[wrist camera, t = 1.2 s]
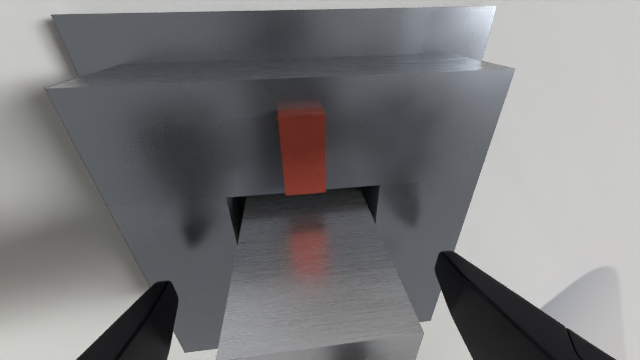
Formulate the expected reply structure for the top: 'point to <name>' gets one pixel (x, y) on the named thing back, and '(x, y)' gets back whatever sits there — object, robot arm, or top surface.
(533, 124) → the top surface
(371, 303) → the column
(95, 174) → the housing
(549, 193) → the top surface
